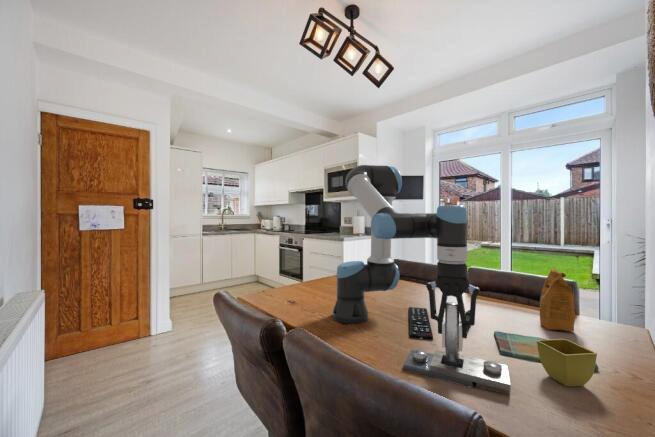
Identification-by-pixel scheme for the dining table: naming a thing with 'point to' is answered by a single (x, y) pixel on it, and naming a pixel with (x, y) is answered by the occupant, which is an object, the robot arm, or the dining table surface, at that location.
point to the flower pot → (567, 361)
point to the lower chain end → (421, 364)
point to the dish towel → (519, 346)
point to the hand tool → (467, 317)
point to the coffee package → (557, 303)
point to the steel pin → (452, 331)
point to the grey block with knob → (474, 371)
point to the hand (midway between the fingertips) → (452, 347)
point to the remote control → (419, 324)
